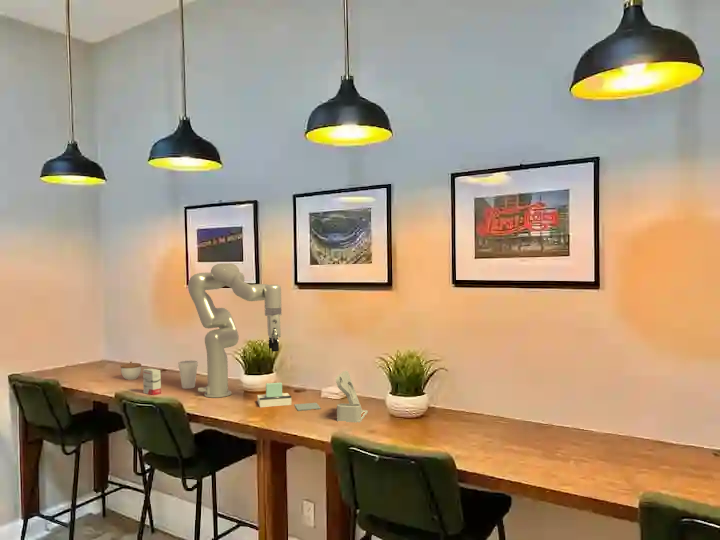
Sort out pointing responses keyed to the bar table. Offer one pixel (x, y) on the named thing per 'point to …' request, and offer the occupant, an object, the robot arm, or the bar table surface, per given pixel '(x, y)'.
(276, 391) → the ticket
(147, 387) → the ink box
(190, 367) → the foam cup
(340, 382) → the phone holder
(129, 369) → the lidded jar
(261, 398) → the box
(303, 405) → the mat
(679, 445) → the bar table surface
